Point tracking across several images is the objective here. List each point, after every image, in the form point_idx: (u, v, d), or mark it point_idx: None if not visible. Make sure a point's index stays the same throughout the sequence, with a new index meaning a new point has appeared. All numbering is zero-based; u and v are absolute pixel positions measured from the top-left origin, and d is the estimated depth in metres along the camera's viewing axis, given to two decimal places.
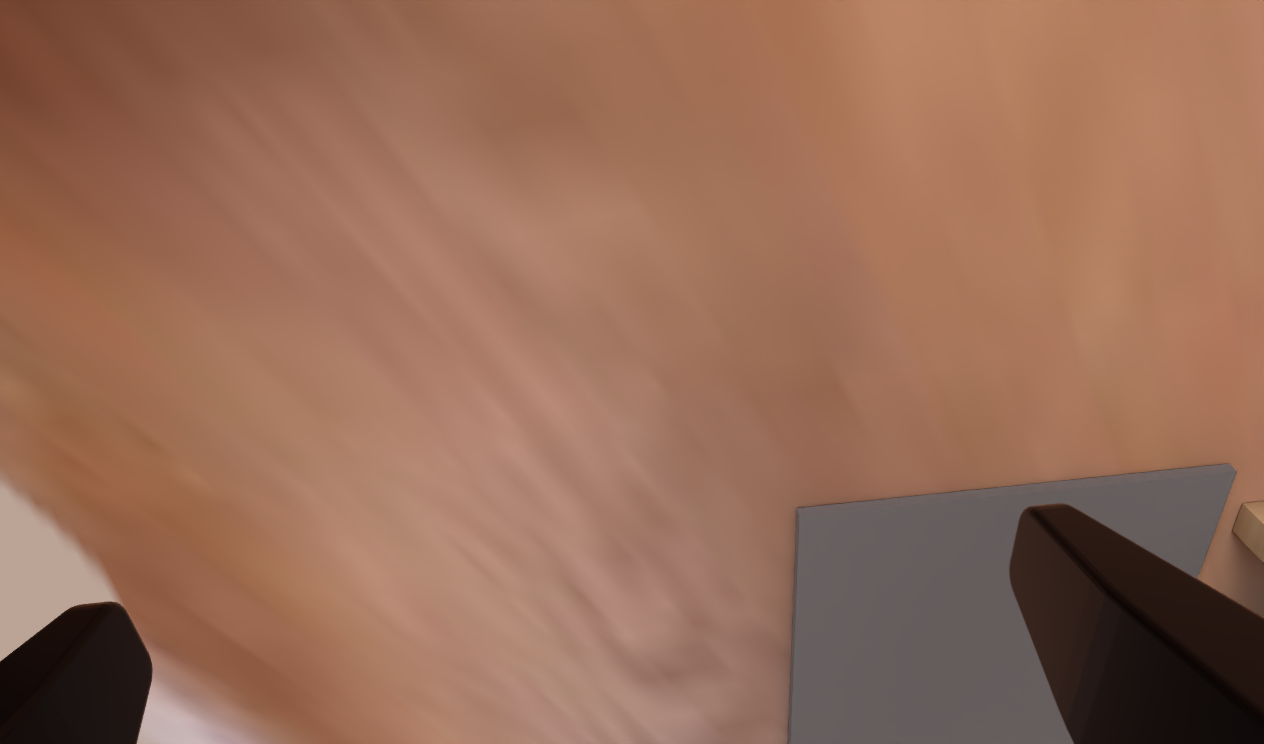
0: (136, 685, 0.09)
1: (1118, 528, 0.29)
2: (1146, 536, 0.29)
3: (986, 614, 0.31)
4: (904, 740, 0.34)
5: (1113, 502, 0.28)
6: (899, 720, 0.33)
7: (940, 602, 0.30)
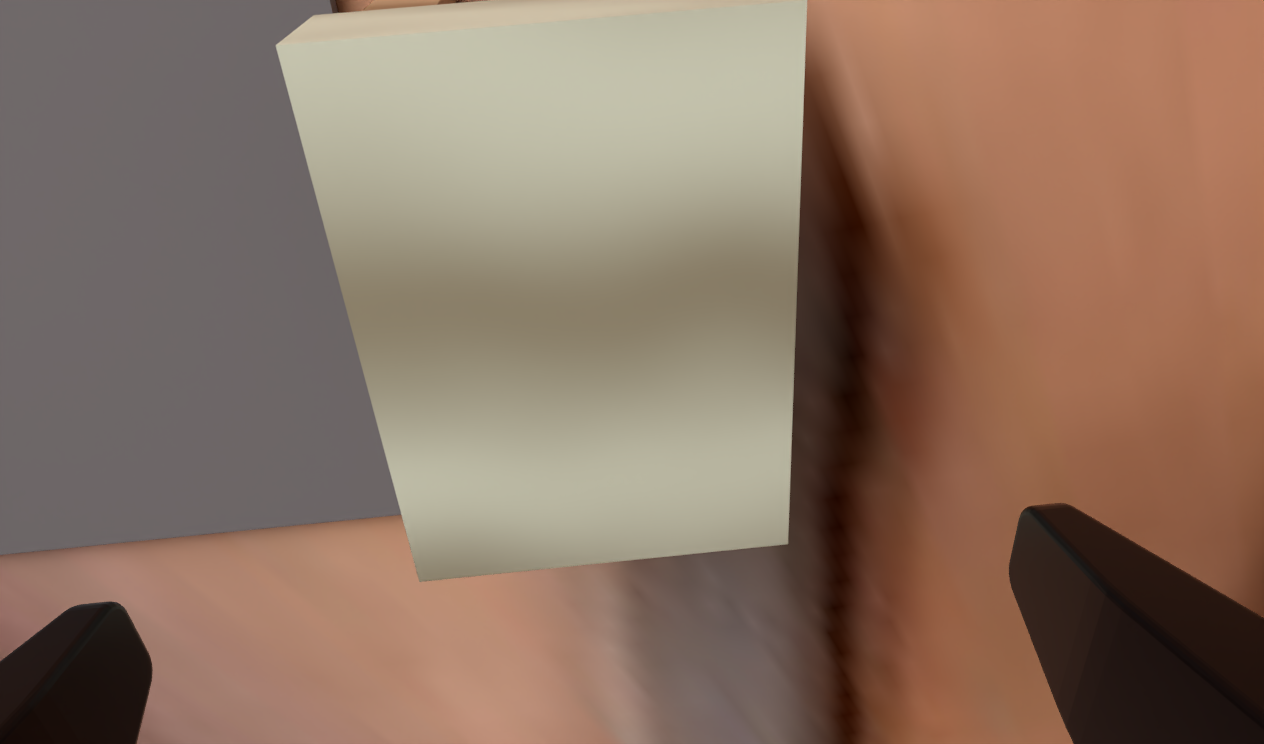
0: (136, 685, 0.09)
1: (141, 18, 0.16)
2: (211, 44, 0.16)
3: (6, 217, 0.18)
4: (31, 484, 0.21)
5: None
6: None
7: None
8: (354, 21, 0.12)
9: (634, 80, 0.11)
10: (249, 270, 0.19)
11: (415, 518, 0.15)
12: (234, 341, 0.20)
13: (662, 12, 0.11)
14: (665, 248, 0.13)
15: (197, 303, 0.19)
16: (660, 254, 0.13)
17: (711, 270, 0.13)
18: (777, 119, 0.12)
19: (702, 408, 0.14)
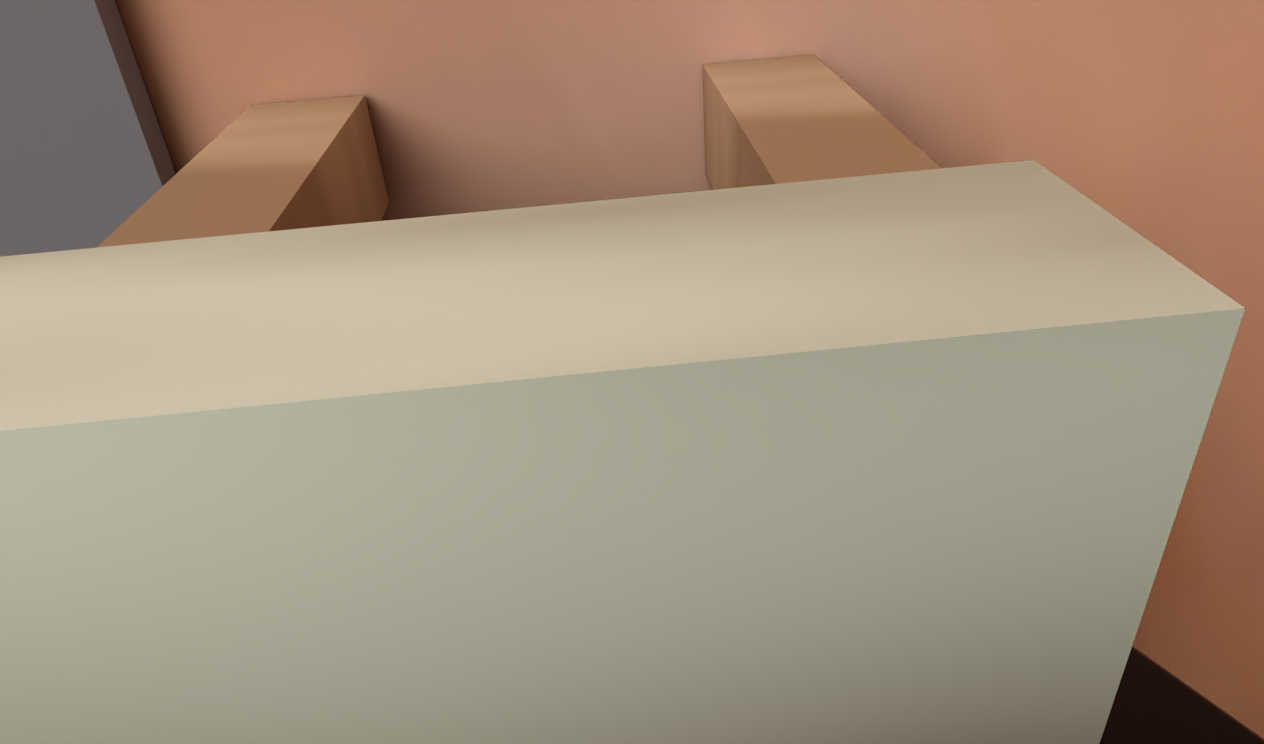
0: None
1: None
2: None
3: None
4: None
5: None
6: None
7: None
8: (35, 306, 0.05)
9: (743, 498, 0.04)
10: None
11: None
12: None
13: (834, 345, 0.04)
14: None
15: None
16: None
17: None
18: (1099, 561, 0.05)
19: None
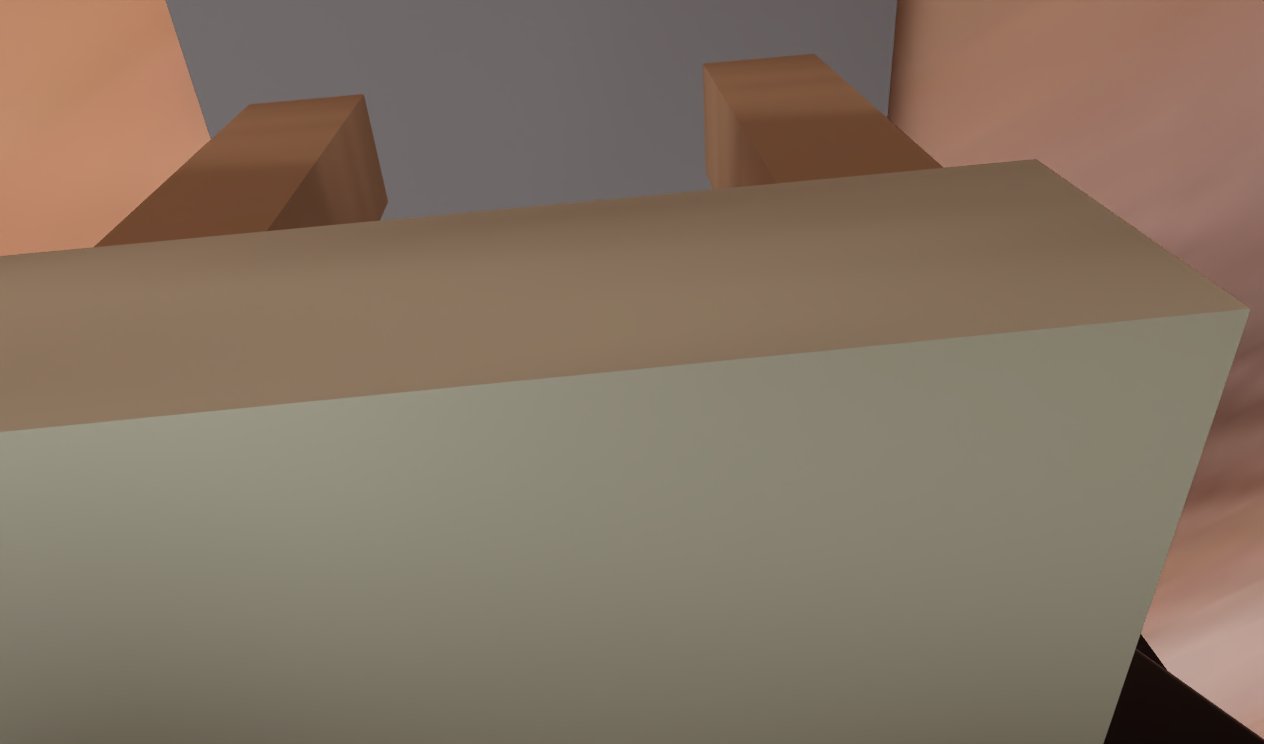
0: None
1: (277, 19, 0.17)
2: None
3: (488, 196, 0.19)
4: None
5: (222, 48, 0.17)
6: None
7: None
8: (31, 306, 0.05)
9: (744, 501, 0.04)
10: None
11: None
12: (628, 9, 0.17)
13: (835, 345, 0.04)
14: None
15: (579, 39, 0.18)
16: None
17: None
18: (1102, 562, 0.05)
19: None
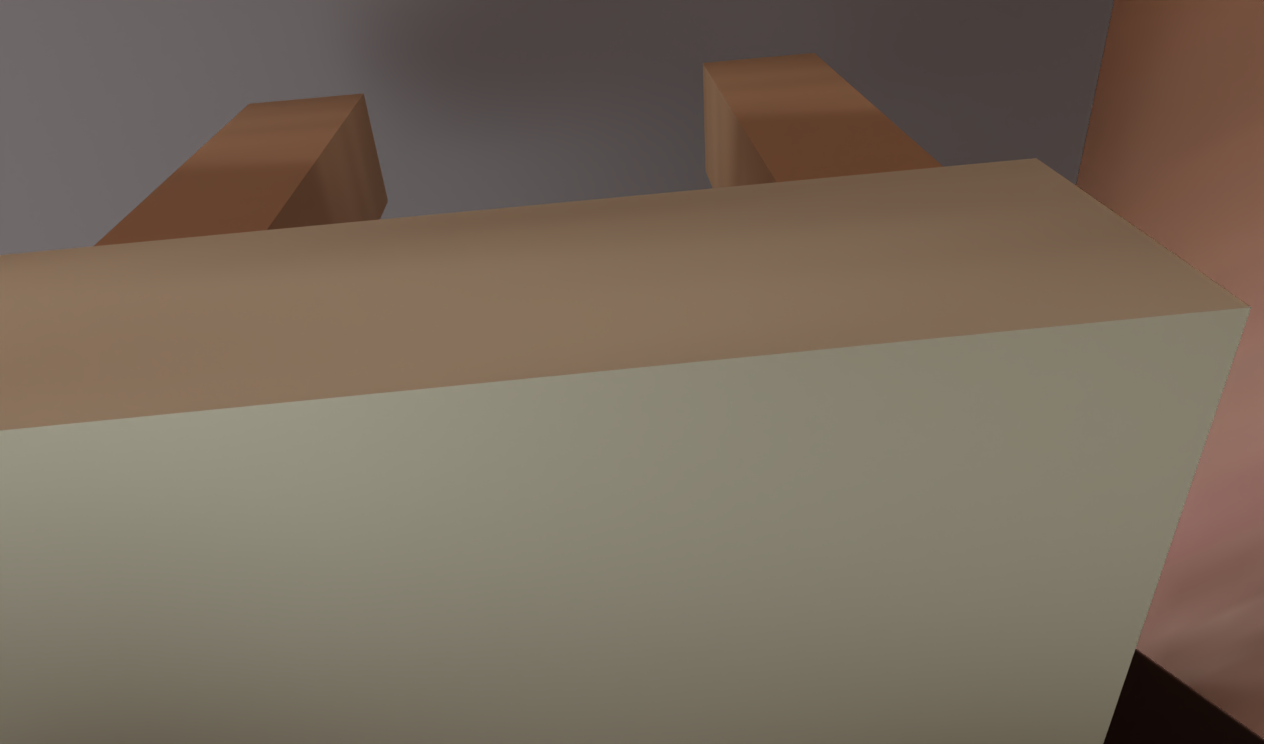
0: None
1: (113, 137, 0.11)
2: (125, 39, 0.10)
3: None
4: None
5: (30, 180, 0.11)
6: None
7: None
8: (30, 305, 0.05)
9: (747, 499, 0.04)
10: (531, 60, 0.10)
11: None
12: (673, 116, 0.11)
13: (835, 344, 0.04)
14: None
15: (596, 162, 0.11)
16: None
17: None
18: (1103, 562, 0.05)
19: None
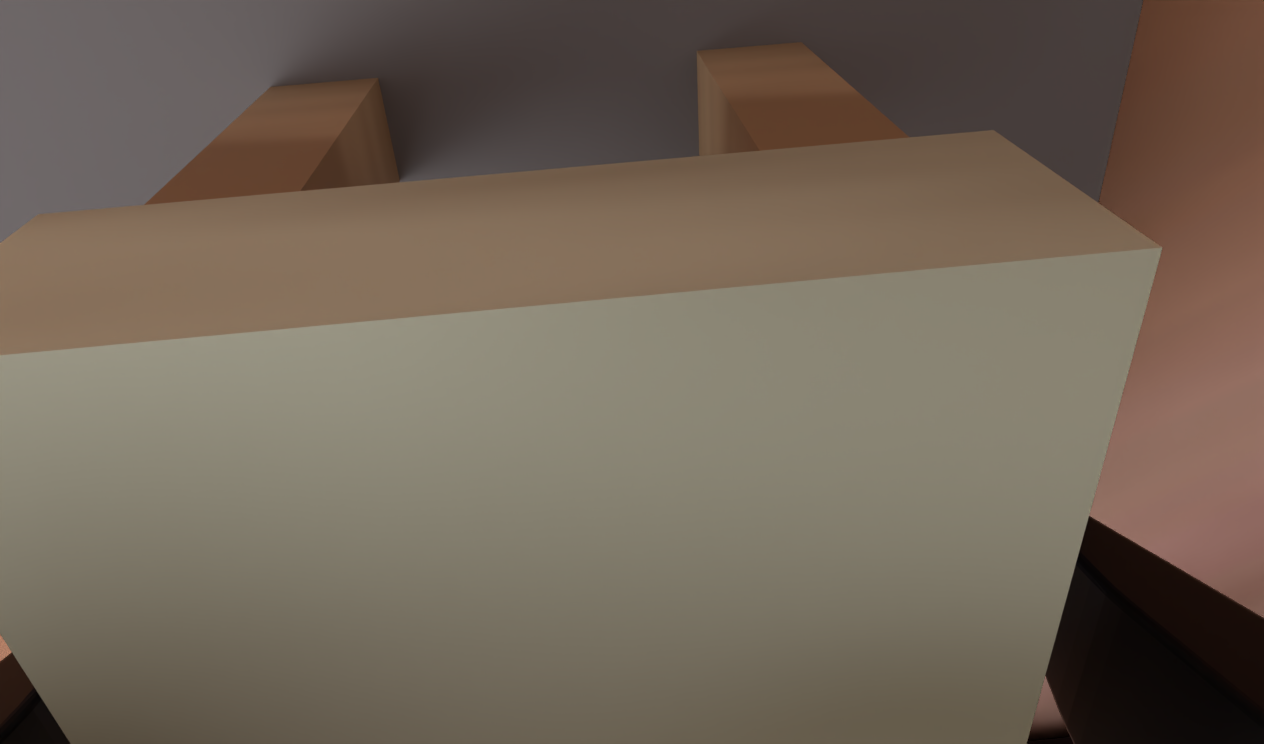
0: None
1: (98, 155, 0.10)
2: (110, 53, 0.10)
3: None
4: None
5: (12, 199, 0.10)
6: None
7: None
8: (97, 251, 0.05)
9: (728, 418, 0.05)
10: (533, 75, 0.10)
11: None
12: (681, 133, 0.11)
13: (806, 277, 0.04)
14: (773, 696, 0.06)
15: None
16: (761, 707, 0.06)
17: (862, 724, 0.06)
18: (1042, 479, 0.05)
19: None
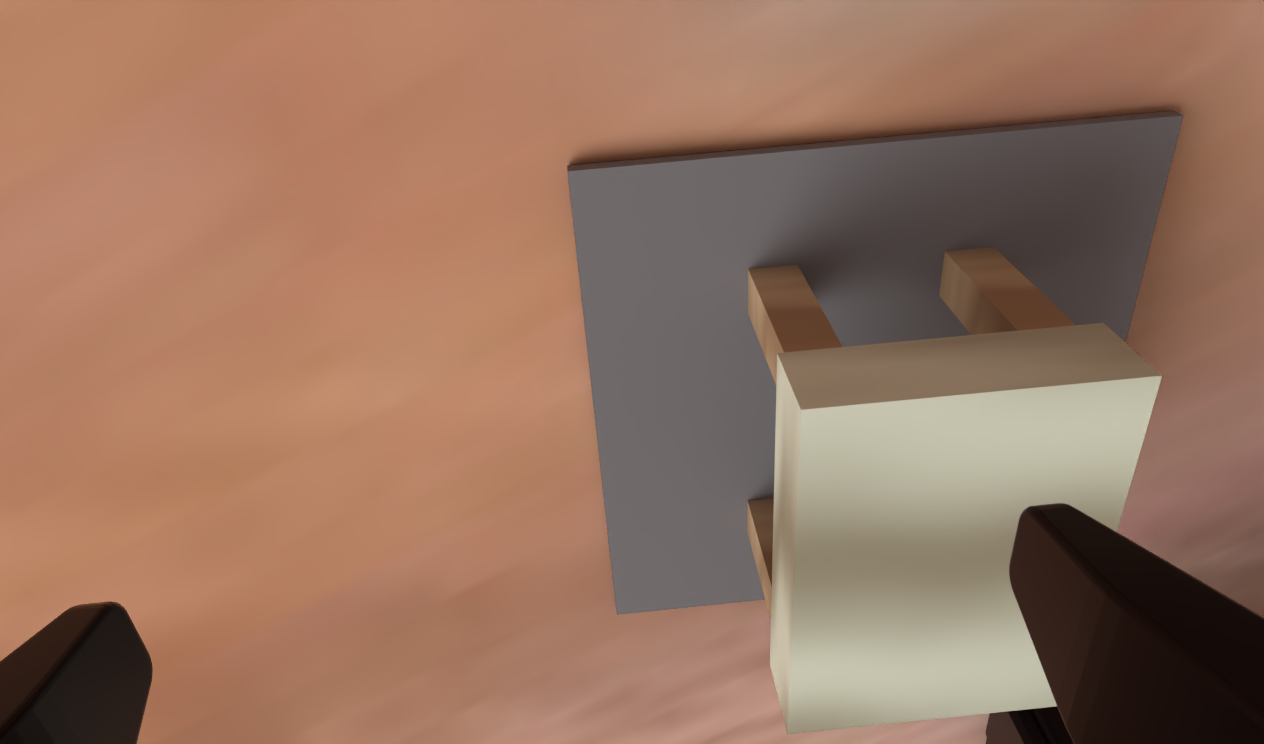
0: (136, 685, 0.09)
1: (661, 299, 0.22)
2: (681, 256, 0.21)
3: None
4: None
5: (615, 318, 0.22)
6: None
7: (765, 470, 0.25)
8: (823, 370, 0.17)
9: (1033, 423, 0.16)
10: (868, 262, 0.21)
11: (799, 692, 0.20)
12: (932, 286, 0.22)
13: (1062, 384, 0.16)
14: None
15: (890, 307, 0.22)
16: None
17: None
18: (1125, 442, 0.17)
19: None
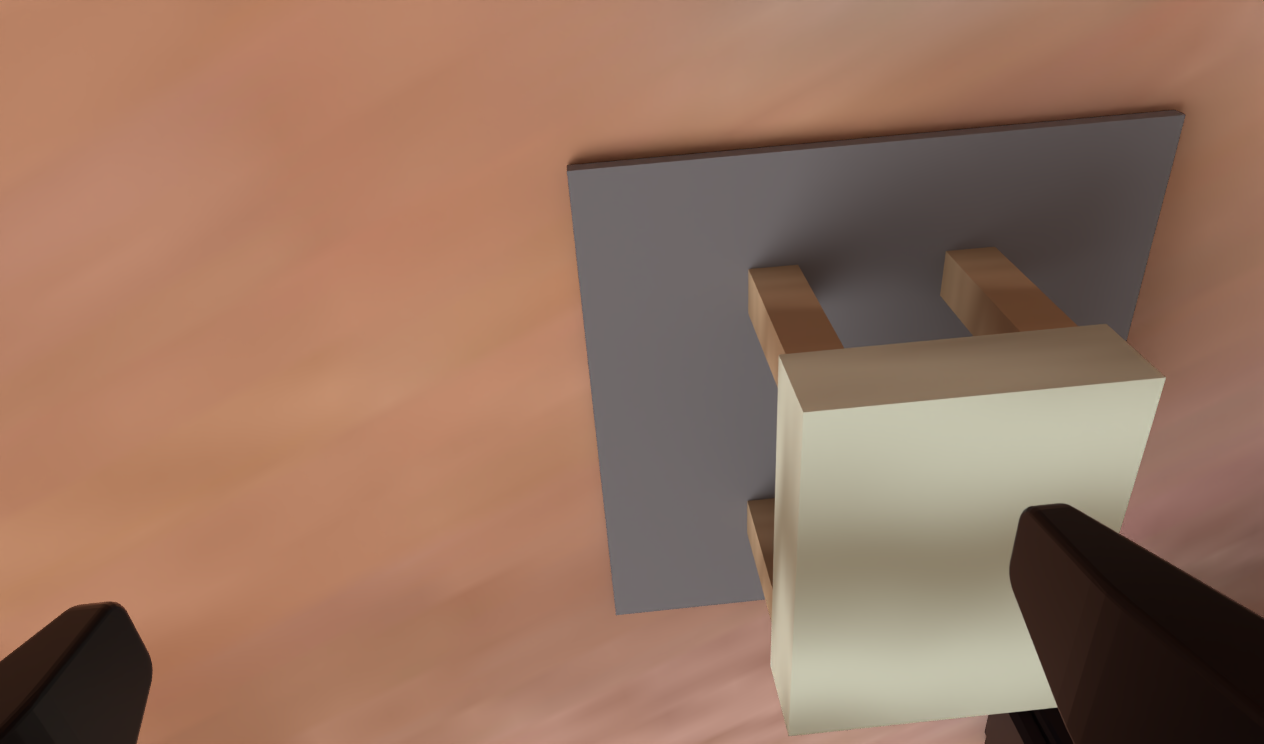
0: (136, 685, 0.09)
1: (661, 299, 0.21)
2: (682, 256, 0.21)
3: None
4: None
5: (615, 319, 0.22)
6: None
7: (765, 471, 0.24)
8: (825, 371, 0.17)
9: (1036, 425, 0.16)
10: (868, 262, 0.21)
11: (800, 694, 0.20)
12: (933, 286, 0.22)
13: (1065, 386, 0.16)
14: None
15: (891, 307, 0.22)
16: None
17: None
18: (1128, 444, 0.16)
19: None
